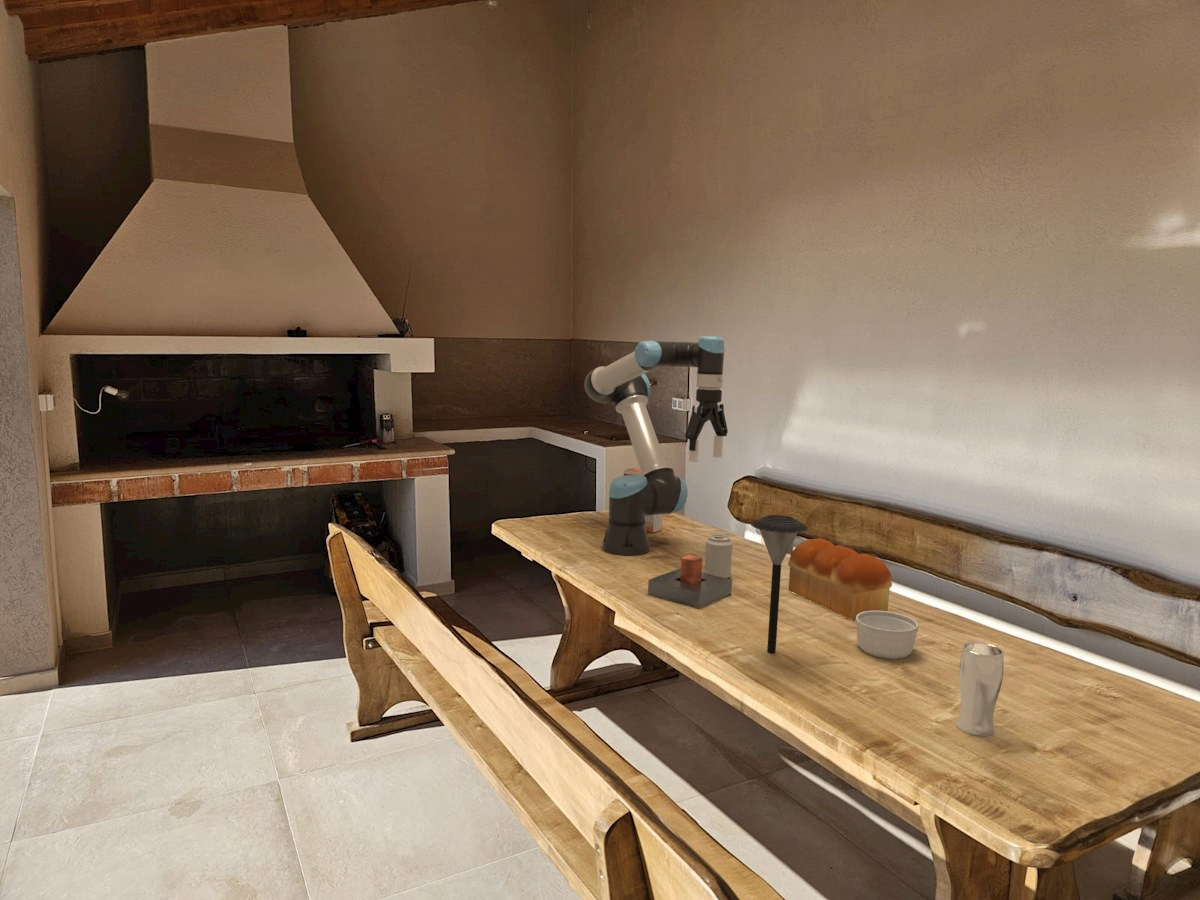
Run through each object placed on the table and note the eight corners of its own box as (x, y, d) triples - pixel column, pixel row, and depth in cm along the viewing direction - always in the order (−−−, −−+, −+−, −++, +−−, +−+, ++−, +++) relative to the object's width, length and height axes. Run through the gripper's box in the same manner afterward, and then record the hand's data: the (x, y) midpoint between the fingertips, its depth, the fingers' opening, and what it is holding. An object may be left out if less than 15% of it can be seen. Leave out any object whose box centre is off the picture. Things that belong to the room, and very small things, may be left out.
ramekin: (875, 664, 173) (878, 632, 172) (841, 641, 186) (843, 612, 185) (928, 659, 177) (931, 628, 176) (891, 637, 189) (894, 608, 188)
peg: (679, 594, 216) (681, 557, 214) (687, 590, 219) (689, 555, 217) (692, 597, 213) (694, 560, 212) (700, 594, 216) (702, 557, 215)
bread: (786, 591, 221) (789, 538, 219) (821, 586, 227) (825, 535, 225) (852, 621, 199) (857, 563, 197) (889, 614, 205) (894, 558, 203)
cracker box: (620, 526, 289) (622, 469, 286) (631, 524, 294) (633, 467, 291) (652, 534, 280) (654, 474, 278) (662, 531, 285) (665, 472, 282)
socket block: (647, 594, 215) (648, 579, 214) (681, 581, 227) (682, 567, 226) (699, 608, 205) (699, 593, 204) (731, 594, 217) (732, 579, 216)
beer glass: (946, 719, 148) (954, 641, 146) (983, 719, 149) (991, 641, 146) (966, 738, 141) (975, 656, 139) (1004, 738, 142) (1013, 656, 140)
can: (729, 574, 236) (731, 533, 234) (731, 581, 228) (733, 540, 226) (703, 572, 236) (705, 532, 235) (704, 580, 229) (706, 538, 227)
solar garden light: (806, 663, 172) (816, 525, 167) (748, 662, 172) (757, 524, 167) (792, 641, 184) (801, 512, 180) (738, 640, 184) (746, 511, 179)
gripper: (697, 390, 228) (693, 465, 231) (741, 388, 247) (737, 456, 250) (675, 389, 233) (671, 461, 236) (720, 386, 252) (716, 453, 255)
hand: (705, 459), depth 243 cm, fingers open, 13 cm apart
